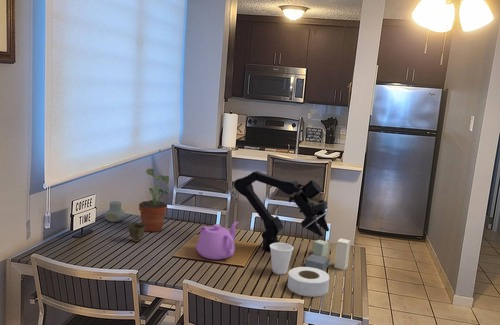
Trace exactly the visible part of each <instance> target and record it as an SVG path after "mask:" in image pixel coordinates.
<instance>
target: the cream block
mask: <svg viewBox="0 0 500 325" xmlns="http://www.w3.org/2000/svg"><path fill="white" fill-rule="evenodd" d="M350 247H351V240H349V239H345V238H339V239H338V240H337V241H336V247H335V248H336V249H335V250H336V251H335V257H334V258H335V259H334V267H333V268H335V269H338V270H342V271H345V270H346V269H348V266H349V256H350Z"/></svg>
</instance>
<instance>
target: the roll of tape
mask: <svg viewBox="0 0 500 325" xmlns="http://www.w3.org/2000/svg"><path fill="white" fill-rule="evenodd" d="M287 274H288V276H287V288H288V289H289V291H291V292H292V293H294V294H296V295H299V296H304V297H312V298H315V297H321V296H325V295H326V294H328V292H329V284H330V275H329V274H328V273H327V272H326V271H325V270H324V271H322V270H320V269H317V268H311V267H305V266H298V267H293V268H292V269H290V270H288V273H287Z"/></svg>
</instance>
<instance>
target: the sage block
mask: <svg viewBox="0 0 500 325" xmlns="http://www.w3.org/2000/svg"><path fill="white" fill-rule="evenodd" d="M329 244H330V243H329V241H326V240H322V239H318V240H315V241H313V248H312V249H313V250H312V254H314V255H318V256H322V257H325V256H327V255H328V252H329Z"/></svg>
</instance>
